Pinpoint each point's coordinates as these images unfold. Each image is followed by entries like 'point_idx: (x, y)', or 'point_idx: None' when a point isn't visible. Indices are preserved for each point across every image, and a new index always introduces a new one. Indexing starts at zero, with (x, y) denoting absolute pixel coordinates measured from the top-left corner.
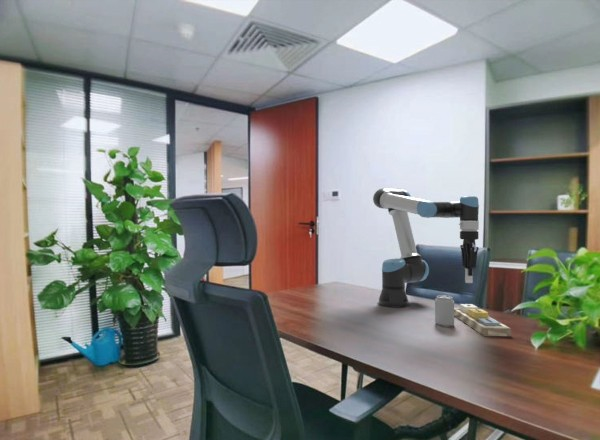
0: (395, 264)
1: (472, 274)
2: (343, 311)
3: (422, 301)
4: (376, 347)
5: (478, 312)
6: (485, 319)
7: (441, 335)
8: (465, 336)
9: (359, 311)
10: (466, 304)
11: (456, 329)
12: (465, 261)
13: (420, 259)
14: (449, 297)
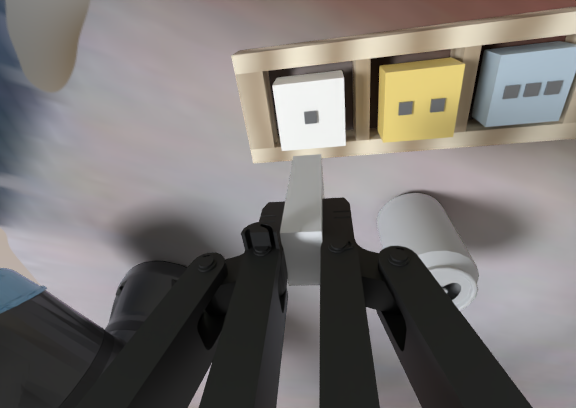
0: None
1: (349, 206)
2: (293, 389)
3: (85, 207)
4: (563, 374)
5: (454, 117)
6: (508, 98)
7: (519, 252)
8: (549, 191)
9: (286, 367)
10: (286, 120)
11: (468, 195)
12: (279, 354)
13: None
14: (431, 271)
